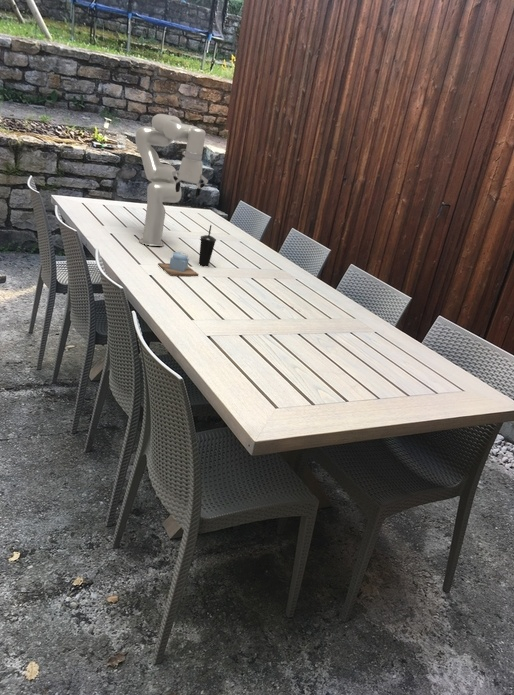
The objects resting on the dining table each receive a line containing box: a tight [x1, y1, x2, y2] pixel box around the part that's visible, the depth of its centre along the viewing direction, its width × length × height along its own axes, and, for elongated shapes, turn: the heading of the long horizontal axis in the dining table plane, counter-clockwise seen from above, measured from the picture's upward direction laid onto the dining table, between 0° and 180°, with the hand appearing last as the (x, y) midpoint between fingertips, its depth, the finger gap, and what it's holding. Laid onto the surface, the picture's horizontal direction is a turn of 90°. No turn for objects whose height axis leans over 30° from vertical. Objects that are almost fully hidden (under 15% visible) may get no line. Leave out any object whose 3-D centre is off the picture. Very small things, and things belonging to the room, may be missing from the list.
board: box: [157, 262, 199, 277], centre depth 269 cm, size 14×14×1 cm
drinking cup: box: [198, 224, 217, 267], centre depth 283 cm, size 8×8×20 cm
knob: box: [169, 251, 190, 272], centre depth 267 cm, size 7×7×7 cm
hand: (187, 194), depth 272 cm, fingers open, 9 cm apart
